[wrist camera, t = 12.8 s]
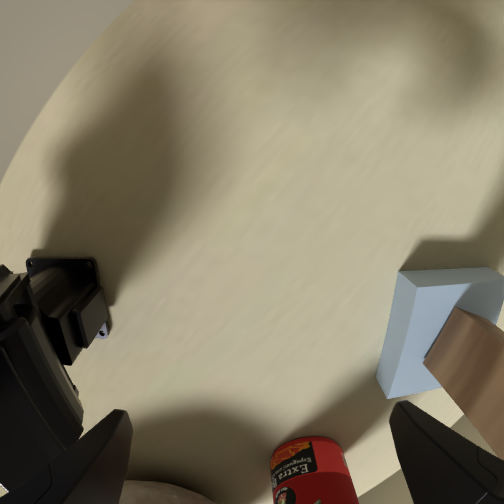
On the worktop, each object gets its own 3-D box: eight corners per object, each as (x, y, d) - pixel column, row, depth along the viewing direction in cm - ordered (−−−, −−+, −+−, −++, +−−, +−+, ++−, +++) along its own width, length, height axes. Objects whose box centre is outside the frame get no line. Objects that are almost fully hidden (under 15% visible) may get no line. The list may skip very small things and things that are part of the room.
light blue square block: (373, 373, 25) (387, 399, 22) (395, 268, 22) (417, 287, 19) (458, 358, 26) (475, 377, 22) (485, 265, 23) (509, 279, 19)
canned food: (299, 426, 26) (319, 525, 16) (356, 443, 28) (384, 525, 18) (254, 464, 28) (259, 551, 18) (311, 478, 30) (326, 554, 19)
